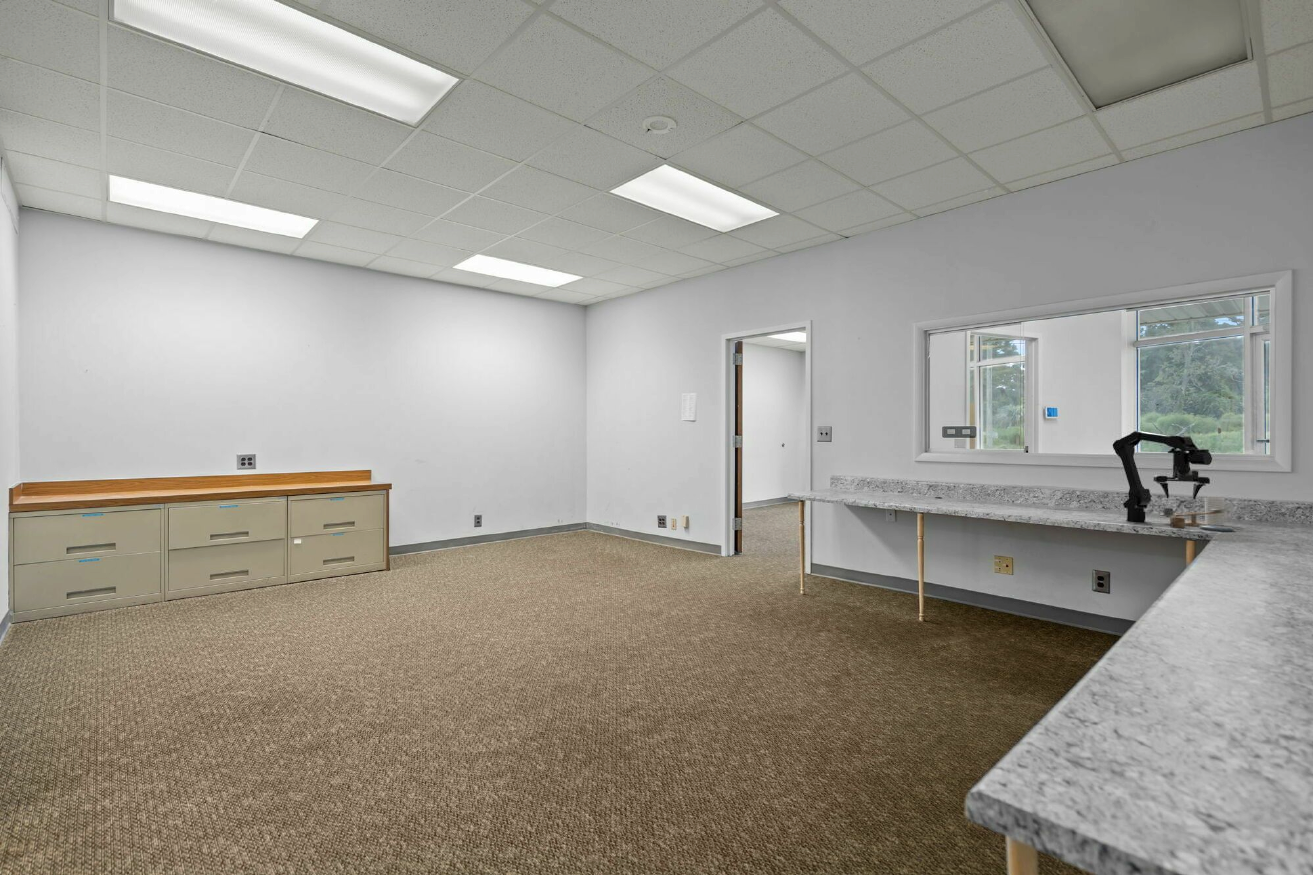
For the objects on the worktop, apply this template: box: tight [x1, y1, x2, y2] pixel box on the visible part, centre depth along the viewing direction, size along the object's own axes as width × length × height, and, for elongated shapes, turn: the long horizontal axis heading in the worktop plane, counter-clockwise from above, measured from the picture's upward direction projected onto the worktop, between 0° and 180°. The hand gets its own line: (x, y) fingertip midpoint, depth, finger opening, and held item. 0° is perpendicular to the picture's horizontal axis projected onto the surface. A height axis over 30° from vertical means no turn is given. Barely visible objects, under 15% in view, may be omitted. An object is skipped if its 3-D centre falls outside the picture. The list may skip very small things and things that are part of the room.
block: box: [1169, 516, 1186, 529], centre depth 281 cm, size 4×4×4 cm
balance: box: [1159, 506, 1230, 527], centre depth 286 cm, size 24×6×8 cm, turn 57°
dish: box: [1199, 524, 1235, 532], centre depth 273 cm, size 11×11×1 cm
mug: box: [1204, 497, 1235, 526], centre depth 287 cm, size 10×7×12 cm, turn 54°
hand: (1180, 498), depth 281 cm, fingers open, 9 cm apart
